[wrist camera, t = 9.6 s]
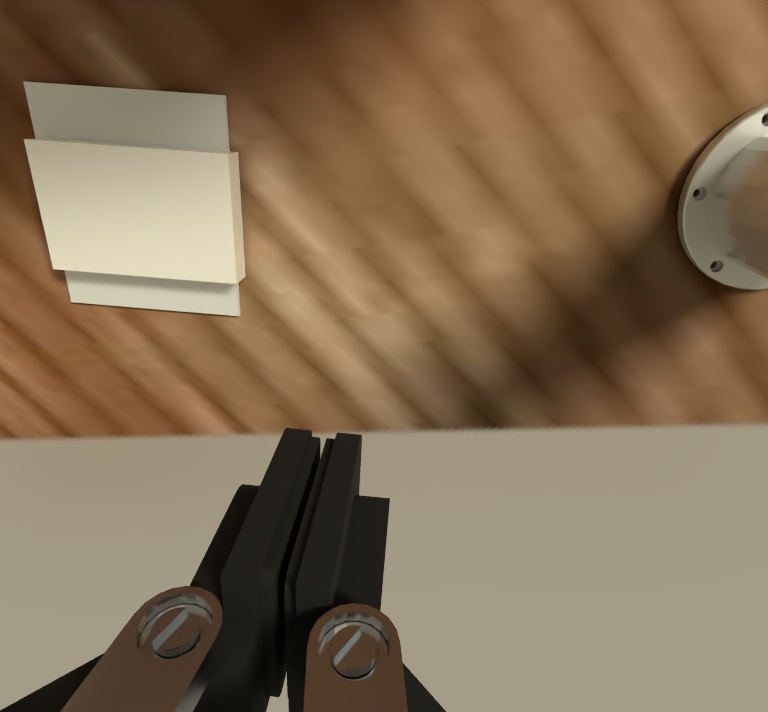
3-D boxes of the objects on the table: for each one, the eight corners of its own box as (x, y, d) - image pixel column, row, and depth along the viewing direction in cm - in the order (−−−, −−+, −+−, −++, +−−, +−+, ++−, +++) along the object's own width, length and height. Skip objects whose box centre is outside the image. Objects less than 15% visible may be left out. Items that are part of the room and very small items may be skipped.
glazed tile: (228, 153, 33) (23, 139, 34) (236, 284, 37) (53, 269, 38) (239, 151, 36) (46, 137, 36) (246, 275, 39) (72, 261, 40)
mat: (226, 95, 34) (224, 95, 34) (240, 314, 41) (238, 316, 41) (27, 81, 35) (23, 81, 35) (74, 300, 42) (71, 302, 41)
